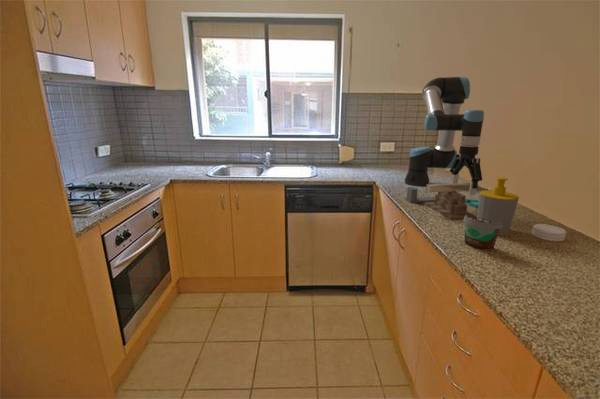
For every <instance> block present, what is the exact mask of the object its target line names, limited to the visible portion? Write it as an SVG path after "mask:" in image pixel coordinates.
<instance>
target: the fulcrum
mask: <svg viewBox="0 0 600 399" xmlns="http://www.w3.org/2000/svg"><path fill="white" fill-rule="evenodd" d="M434 197H435V200H434V202H424V205H425V206H426V207H428V208H430V209H431V210H433V211H435V212H437V213H439V214H440V215H442V216H443V217H446V218H447V219H449V220H463V219H464V217H465V215H466V214H467V217H472V218H477V215H476V214H474V213H472V212H469V211H467V209H468V204H467V203H465V198H467V196H466V195H465V194H463V193H460V192H459V191H454V192H437V194H435V195H434Z"/></svg>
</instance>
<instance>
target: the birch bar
mask: <svg viewBox="0 0 600 399" xmlns="http://www.w3.org/2000/svg"><path fill="white" fill-rule="evenodd" d="M470 183H471V182H468V183H467V182H466V183H465V182H464V183H463V182H462V183H461V182H460V183H459V182H458V184H451V183H433V184H431V183H429V184H426V186H425V192H428V193H438V192H454V191H456V192H469V189H470ZM478 190H479V184H478V185H477V188H476V192H478Z"/></svg>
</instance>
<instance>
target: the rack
mask: <svg viewBox="0 0 600 399" xmlns="http://www.w3.org/2000/svg"><path fill="white" fill-rule="evenodd" d="M404 200H405V201H407V202H408V203H410V204H411V203H412V204H413V203H414V204H415V203H417V204H418V203H425V202H434V200H435V196H419V197H418V188H416V187H414V186H407V191H406V197H405V198H404Z"/></svg>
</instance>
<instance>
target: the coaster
mask: <svg viewBox="0 0 600 399" xmlns="http://www.w3.org/2000/svg"><path fill="white" fill-rule="evenodd" d="M531 234H532V235H533V236H534V237H536V238H538V239H540V240H545V241H549V242H563V241H565V239H566V234H567V231H566V229H564V228H562V227H559V226H556V225H551V224H544V223H537V224H534V225H533V226H532V230H531Z"/></svg>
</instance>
